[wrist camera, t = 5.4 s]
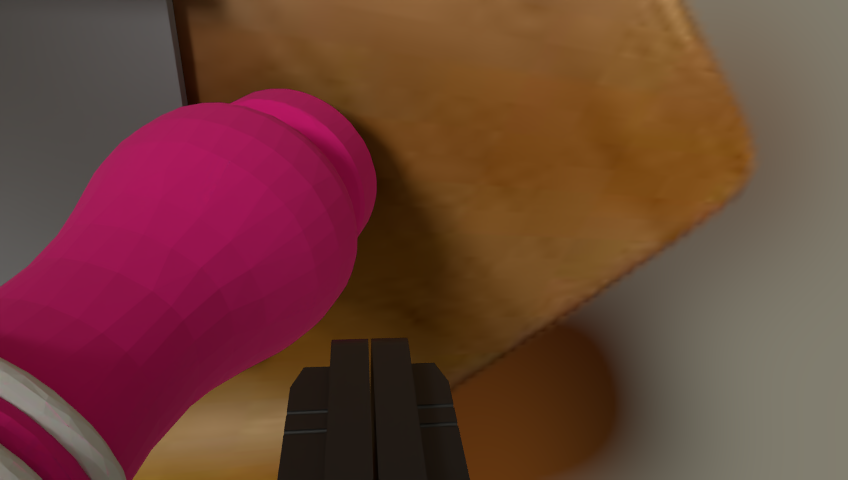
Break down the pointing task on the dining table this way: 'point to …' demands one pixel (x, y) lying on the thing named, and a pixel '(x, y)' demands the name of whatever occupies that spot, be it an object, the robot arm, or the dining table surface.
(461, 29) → the dining table surface
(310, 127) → the pepper mill
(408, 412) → the robot arm
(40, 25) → the gray open-ended tray
